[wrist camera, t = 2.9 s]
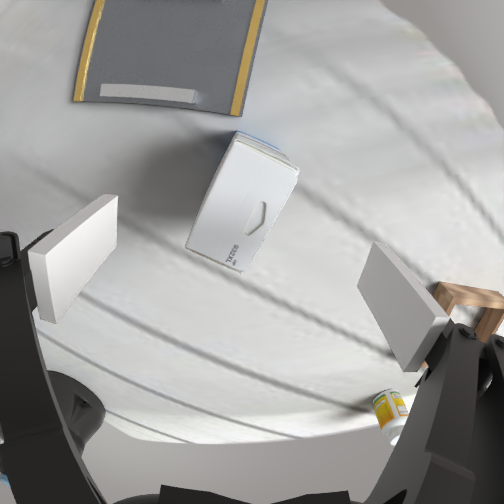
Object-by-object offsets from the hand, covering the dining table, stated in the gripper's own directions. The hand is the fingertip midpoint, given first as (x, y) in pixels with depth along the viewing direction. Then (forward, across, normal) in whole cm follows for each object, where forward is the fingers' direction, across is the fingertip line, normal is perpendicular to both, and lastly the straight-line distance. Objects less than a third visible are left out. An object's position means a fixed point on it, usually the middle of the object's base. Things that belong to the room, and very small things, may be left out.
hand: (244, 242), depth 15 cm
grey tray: (+17, -10, +13) cm, 24 cm away
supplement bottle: (+18, +32, -32) cm, 49 cm away
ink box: (+18, 0, 0) cm, 18 cm away
